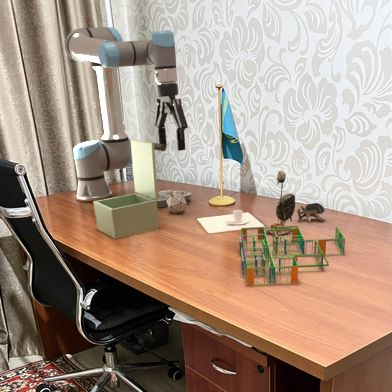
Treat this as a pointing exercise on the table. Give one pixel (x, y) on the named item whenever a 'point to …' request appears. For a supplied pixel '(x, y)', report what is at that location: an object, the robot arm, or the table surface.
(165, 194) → the brain slice
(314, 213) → the brown animal figurine
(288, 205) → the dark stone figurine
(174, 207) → the game die
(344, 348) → the table surface
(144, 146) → the lid
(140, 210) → the chest
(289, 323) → the table surface
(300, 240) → the wall framing model
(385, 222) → the table surface
